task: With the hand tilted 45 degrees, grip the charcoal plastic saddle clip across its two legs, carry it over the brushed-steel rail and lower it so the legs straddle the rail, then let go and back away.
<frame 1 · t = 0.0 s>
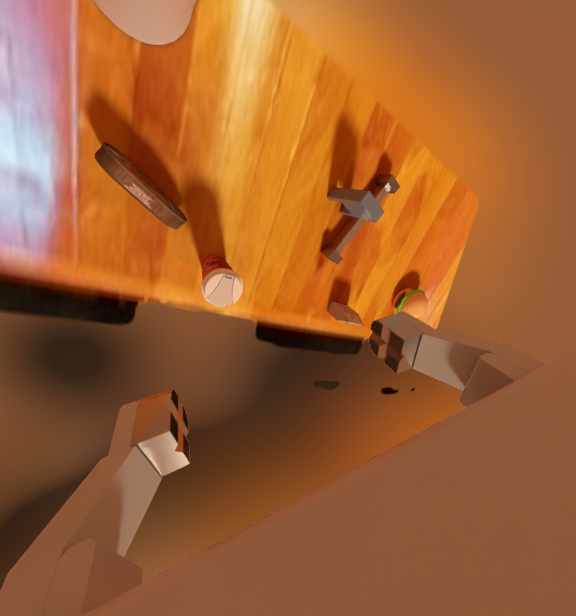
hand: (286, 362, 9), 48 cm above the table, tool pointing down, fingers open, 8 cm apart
tin: (148, 189, 43), on the table
paper cup: (214, 266, 54), on the table
rail: (353, 219, 62), on the table
printed food carton: (336, 307, 76), on the table
hamburger: (401, 299, 86), on the table
clip: (338, 201, 58), on the table
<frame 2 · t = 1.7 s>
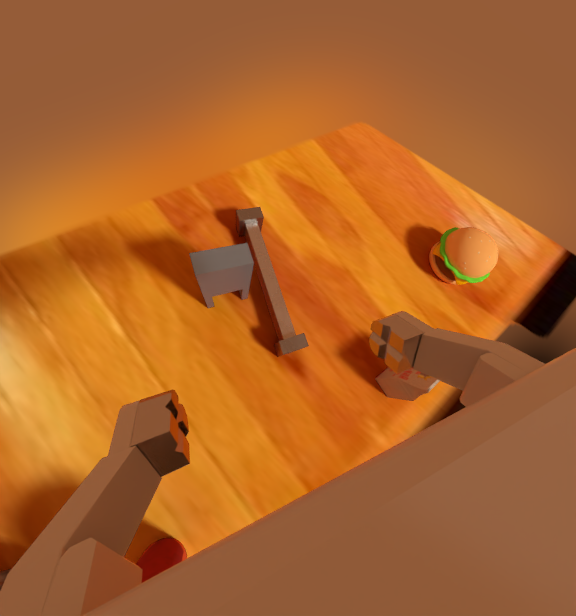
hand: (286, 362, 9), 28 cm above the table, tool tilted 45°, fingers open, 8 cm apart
paper cup: (162, 566, 28), on the table
rail: (266, 285, 40), on the table
printed food carton: (393, 376, 41), on the table
hamburger: (445, 264, 51), on the table
clip: (226, 295, 38), on the table
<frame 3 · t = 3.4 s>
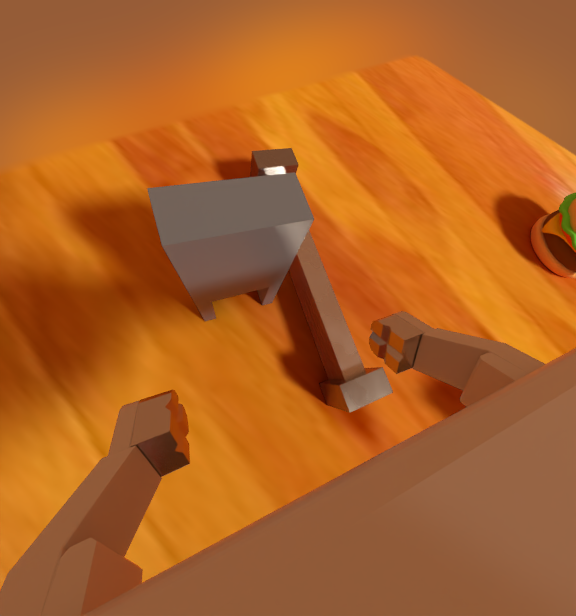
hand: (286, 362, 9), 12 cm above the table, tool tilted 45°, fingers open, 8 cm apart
rail: (302, 281, 24), on the table
hamburger: (552, 250, 35), on the table
clip: (235, 298, 22), on the table
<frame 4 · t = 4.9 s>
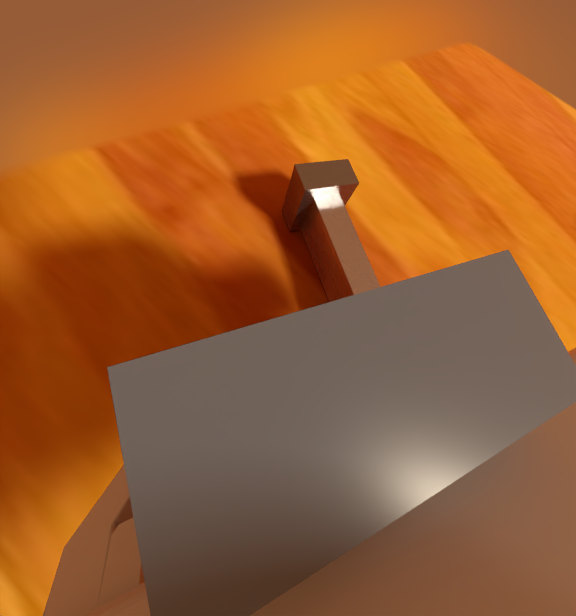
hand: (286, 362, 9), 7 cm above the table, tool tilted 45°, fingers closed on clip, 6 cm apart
rail: (358, 343, 17), on the table
clip: (269, 376, 15), on the table, touching gripper
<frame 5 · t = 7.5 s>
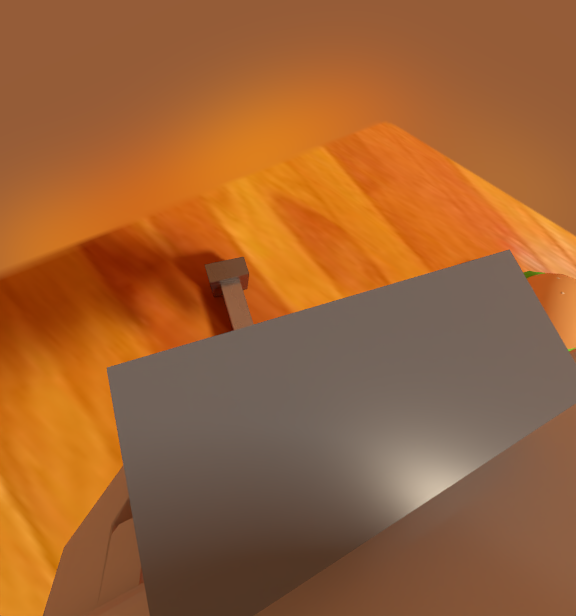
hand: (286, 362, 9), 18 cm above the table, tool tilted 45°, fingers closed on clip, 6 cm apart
rail: (255, 375, 26), on the table
hamburger: (509, 319, 36), on the table
clip: (269, 376, 15), point 11 cm above the table, touching gripper
when the fingers open (8 cm above the table, at t = 10.2 s): clip stays where it is, on the table.
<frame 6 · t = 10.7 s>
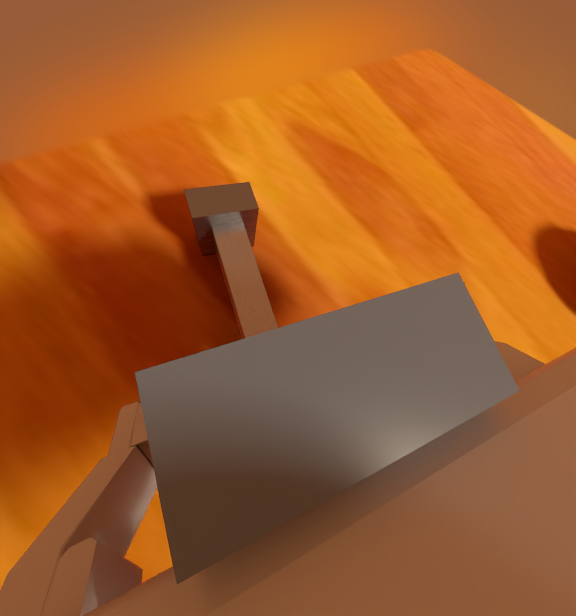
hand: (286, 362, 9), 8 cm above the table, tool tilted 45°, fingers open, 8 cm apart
rail: (268, 376, 16), on the table
clip: (266, 376, 16), on the table
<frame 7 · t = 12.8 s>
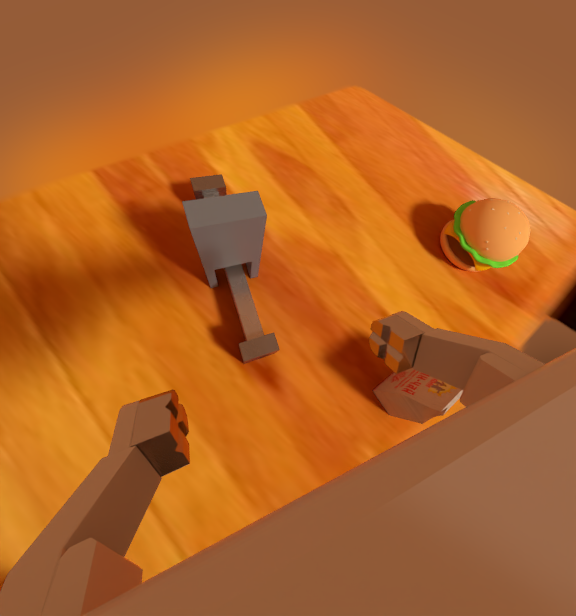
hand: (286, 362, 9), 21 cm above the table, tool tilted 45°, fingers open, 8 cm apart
rail: (233, 273, 32), on the table
printed food carton: (396, 387, 32), on the table
hamburger: (461, 248, 41), on the table
clip: (232, 273, 32), on the table
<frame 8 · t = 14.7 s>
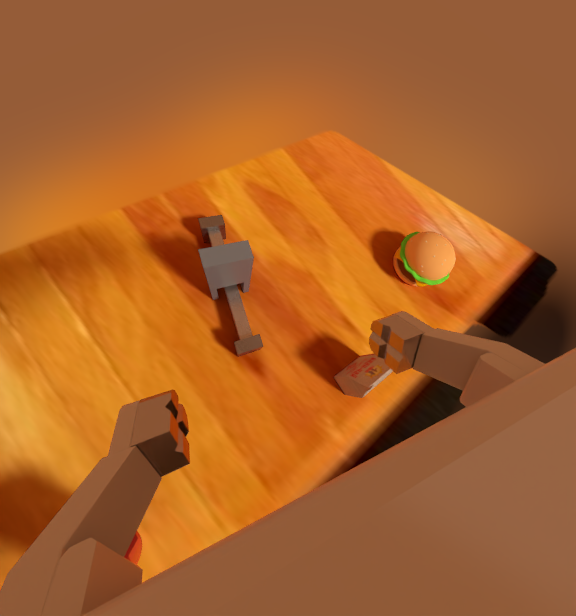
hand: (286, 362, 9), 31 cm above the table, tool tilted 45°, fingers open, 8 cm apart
paper cup: (118, 551, 30), on the table
rail: (229, 289, 42), on the table
printed food carton: (352, 374, 43), on the table
hamburger: (410, 267, 52), on the table
clip: (229, 289, 42), on the table
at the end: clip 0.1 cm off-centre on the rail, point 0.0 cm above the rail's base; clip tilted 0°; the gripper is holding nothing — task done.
